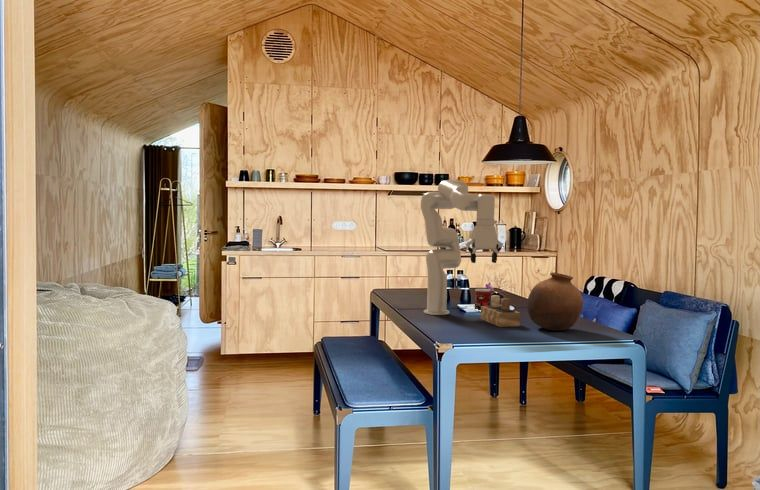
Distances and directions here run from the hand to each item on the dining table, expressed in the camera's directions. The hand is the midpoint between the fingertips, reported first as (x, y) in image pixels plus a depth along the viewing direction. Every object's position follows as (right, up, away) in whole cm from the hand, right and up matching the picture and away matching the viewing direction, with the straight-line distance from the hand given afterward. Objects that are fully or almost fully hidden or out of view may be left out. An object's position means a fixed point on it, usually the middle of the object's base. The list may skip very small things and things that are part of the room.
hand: (483, 262), depth 265 cm
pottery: (+31, -30, +2) cm, 43 cm away
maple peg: (+9, -23, +21) cm, 32 cm away
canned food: (+7, -26, +47) cm, 54 cm away
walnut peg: (+12, -23, +12) cm, 29 cm away
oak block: (+10, -28, +17) cm, 34 cm away
